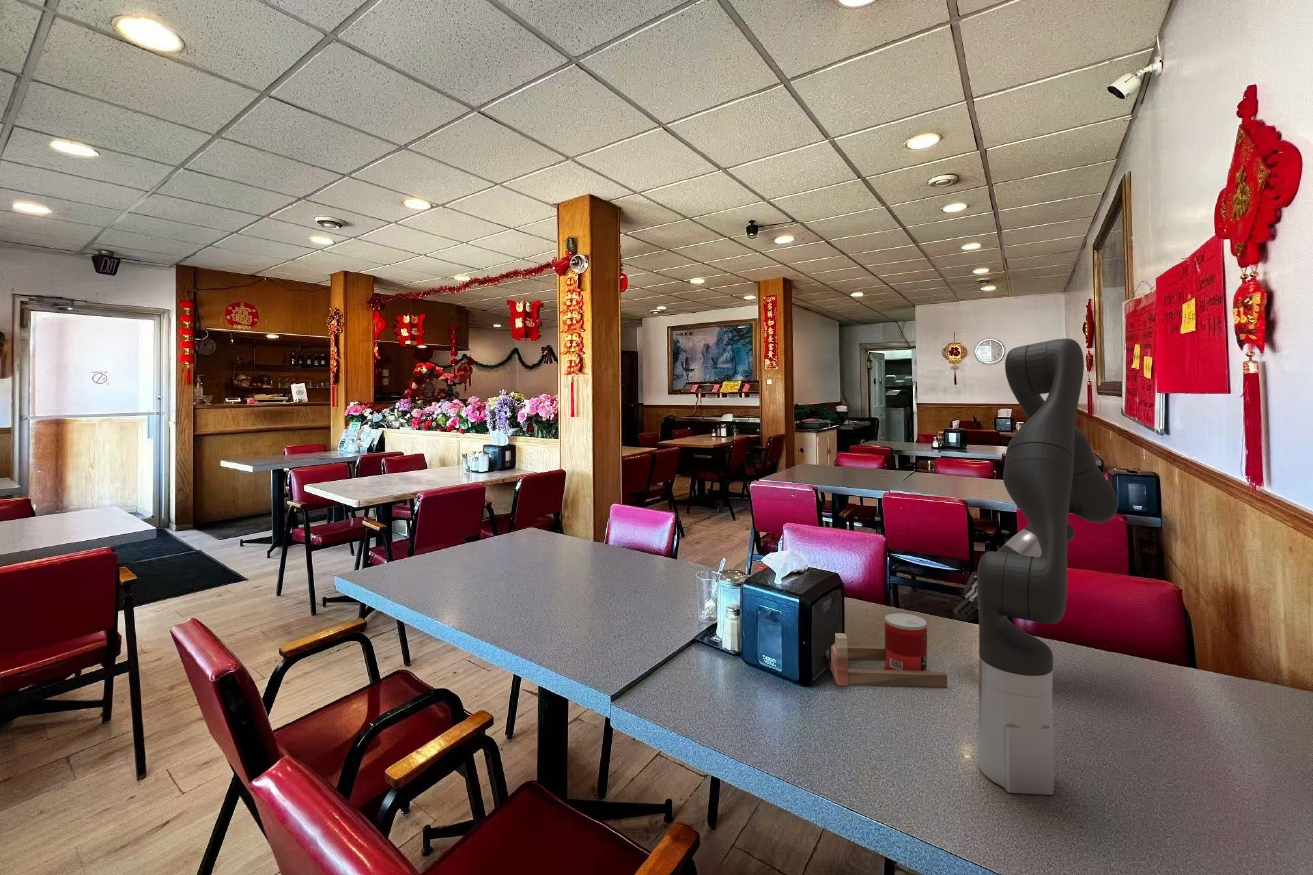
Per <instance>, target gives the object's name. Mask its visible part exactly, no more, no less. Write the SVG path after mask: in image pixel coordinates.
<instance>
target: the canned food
mask: <svg viewBox="0 0 1313 875" xmlns="http://www.w3.org/2000/svg"><path fill="white" fill-rule="evenodd" d="M884 646H885V660H884V664H885V668H886V669H885V670H907V671H928V624H927V621H926V619H924V618H922V617H920V616H917V615H916V614H915V615H914V614H910V613H902V612H901V613H900V612H899V613H890V614H887V615H886V616H885V617H884Z"/></svg>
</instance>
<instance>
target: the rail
mask: <svg viewBox="0 0 1313 875" xmlns="http://www.w3.org/2000/svg"><path fill="white" fill-rule="evenodd" d="M849 660H865V661H866V660H873V661H885V645H863V644H861V645H859V644H857V645H856V644H852V645H851V644H848V637H847V635H846V634H845V632H844V633H841V632H838V633H837V632H836V633H835V643H834V644H833V645H832V646H831V667H829V668H830V671H831V674H832V676H833V678H834V681H835V682H836V684H837V686H842V687H843V686H844V687H845V686H847V687H848V686H849V685H852V686H856V685H857V686H883V687H884V686H885V687H886V686H888V687H916V688H917V687H918V688H946V689H947V688H948V674H947V673H946V672H945V671H942V670H941V671H938V670H934V671H933V670H927V671H907V670H887V669H871V668H869V669H865V668H849Z"/></svg>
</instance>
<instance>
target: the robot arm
mask: <svg viewBox="0 0 1313 875" xmlns="http://www.w3.org/2000/svg"><path fill="white" fill-rule="evenodd" d="M1082 349H1083V348H1082V347H1081V345H1080V344H1079V343H1078V342H1077V341H1076V340H1075V339H1072V338H1056V339H1051V340H1047V341H1045V340H1044V341H1040V342H1035V343H1031V344H1026V345H1021V346H1016V347H1014V348H1011V349H1010V350H1009V351H1008V353H1007V354H1006V357H1005V359H1004V360H1005V361H1004V371H1005V376H1006V381H1007V383H1008V386H1009V388H1010V391H1011V392H1012V394H1013V395H1014V397H1015V399H1016V401H1017V403H1018V404H1019V406H1020V408H1021V410H1022V411H1023V414H1024V415H1025V416H1026V418H1027V421H1025V423H1024V424H1023V425H1021V427H1020V428H1019V429H1018V430H1017V431H1016V432H1015V433H1014V435H1012V437H1011V439H1010V440H1009V442H1008V444H1007V447H1006V451H1005V452H1006V453H1005V458H1004V459H1005V460H1004V466H1003V473H1002V479H1003V480H1002V481H1003V485H1004V487H1005V489H1006V491H1007V494H1008V496H1010V498H1011V500H1012V501H1013V502H1014V504H1015V505H1016V506H1017V508H1018V510H1019V511H1020V512H1021V513H1022V515H1023V516H1024V518H1025V519H1026V521H1027V522H1028V524H1027V525H1026V526H1025V527H1024V528H1022V530H1020V531H1019V532H1017V533H1016V534H1015V535H1013V536H1012V537H1011V538H1010V539H1008V540H1007V541H1006V542H1005V544H1003V545H1002V546H1001V547H1000V548H999V549H998V550H997V551H993V550H992V551H991V550H989V551H987V552H984V553H983V554H982V555H981V557H980V560H978V566H977V572H976V571H973V572H971V574H970V575H969V578H968V581H967V583H966V585H965V587H964V590H963V593H964V594H965V598H964V599H963V601H961V602H960V603H959V604H958V605H957V606H956V607H955V608H954V609H953V613H954V614H955V615H957V617H959V618H960V619H961V620H966V619H967V618H968V617H969V616H970V615H971V614H972V613H973V612H975V611H976V610H977V609H978V644H979V645H978V646H979V648H978V649H979V650H978V654H979V656H978V716H977V717H978V719H977V720H978V722H977V723H978V725H977V726H978V727H977V730H978V731H977V732H978V733H977V734H978V735H977V737H978V738H977V739H978V743H977V744H978V745H977V746H978V747H977V748H978V750H977V751H978V752H977V754H978V755H977V756H978V758H977V759H978V764H977V765H978V768H979V770H980V771H981V772H982V774H983V775H984V776H985V777H986V778H987V779H989V780H990V781H992V782H993V783H995V784H998V785H999V786H1001V787H1002V788H1004V790H1005V791H1006V792H1007V793H1008V794H1009V793H1011V794H1029V795H1030V794H1031V795H1049V796H1053V795H1054V777H1055V776H1054V775H1055V774H1054V773H1055V772H1054V771H1055V770H1054V769H1055V764H1054V763H1055V730H1054V729H1053V679H1054V678H1053V677H1054V676H1053V675H1054V674H1053V673H1054V672H1053V671H1054V656H1053V652H1052V651H1053V650H1052V649H1051V647H1049V646H1048V645H1047V644H1046V643H1045V642H1044V641H1042V640H1041V639H1039V638H1037V637H1035V636H1033V635H1032V634H1031V633H1027V632H1026V631H1024V630H1023V629H1021V628H1020V627H1018V626H1016V624H1015V623H1013V622H1012V621H1011V620H1010V619H1009V618H1013V619H1018V620H1022V621H1023V620H1024V621H1029V622H1030V621H1031V622H1034V623H1041V624H1048V625H1055V624H1058V623H1060V621H1062V619H1063V617H1064V614H1065V611H1066V606H1067V601H1068V599H1067V598H1068V544H1069V543H1070V542H1071V541H1072V540H1073V539H1074V537H1075V530H1074V528H1073V527H1072V526H1071V525H1070V523H1068V521H1069V515H1071V514H1072V515H1074V516H1076V517H1078V518H1080V519H1082V520H1084V521H1087V522H1089V523H1093V524H1103V523H1106V522H1108V521H1110V520H1111V519H1112V518H1114V517H1115V515H1116V513H1117V511H1118V508H1119V501H1118V496H1117V494H1116V491H1115V489H1114V488H1113V486H1112V484H1111V482H1109V480H1108V478H1107V477H1106V476H1105V474H1104V473H1103V472H1102V471H1101V469H1100V468H1099V467H1098V465H1097V463H1096V460H1095V455H1094V452H1093V449H1092V446H1091V443H1090V442H1089V439H1088V437H1087V436H1086V434H1085V433H1084V432H1083V431H1082V430H1081V429H1080V428H1079V427H1078V426H1077V425H1076V420H1077V411H1078V405H1079V402H1080V396H1081V391H1082V385H1083V378H1084V371H1085V360H1084V359H1085V358H1084V353H1083V350H1082ZM1044 394H1048V395H1047V397H1046V399H1045V400H1044V398H1043V397H1042V395H1044ZM1008 617H1009V618H1008Z"/></svg>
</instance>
